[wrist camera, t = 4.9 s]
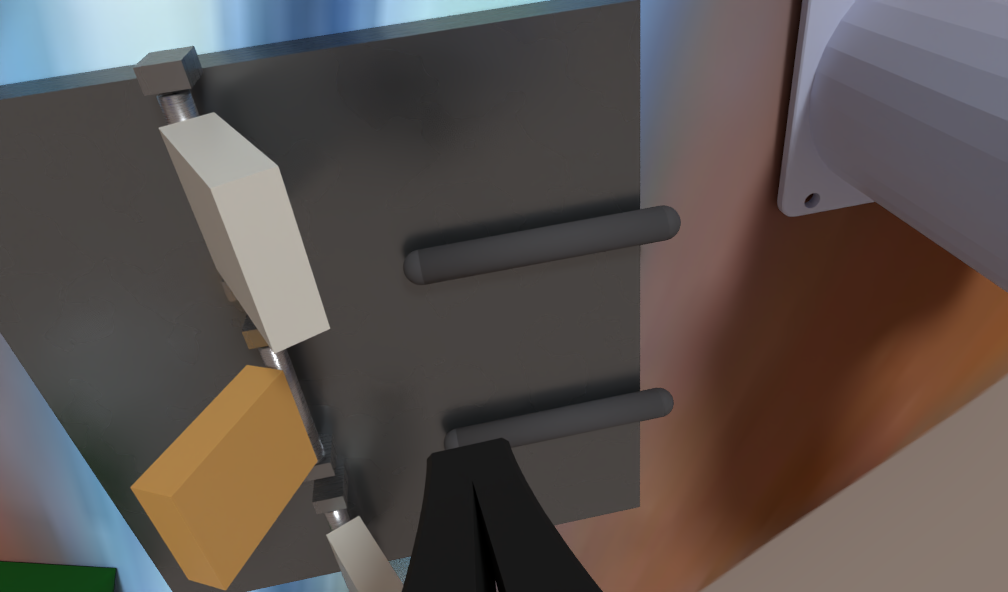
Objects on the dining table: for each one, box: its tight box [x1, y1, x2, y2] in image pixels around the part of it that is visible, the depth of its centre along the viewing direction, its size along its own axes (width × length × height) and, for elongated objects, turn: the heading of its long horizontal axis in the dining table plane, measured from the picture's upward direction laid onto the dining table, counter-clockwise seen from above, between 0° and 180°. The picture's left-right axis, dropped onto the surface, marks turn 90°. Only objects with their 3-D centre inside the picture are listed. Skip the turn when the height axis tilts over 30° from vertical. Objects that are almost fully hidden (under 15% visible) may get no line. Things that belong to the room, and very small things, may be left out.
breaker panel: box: [0, 0, 640, 592], centre depth 21 cm, size 18×20×3 cm
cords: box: [403, 206, 681, 450], centre depth 21 cm, size 8×8×1 cm
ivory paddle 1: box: [159, 112, 330, 354], centre depth 14 cm, size 1×4×4 cm, turn 6°
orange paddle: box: [130, 365, 318, 590], centre depth 18 cm, size 1×4×4 cm, turn 7°
